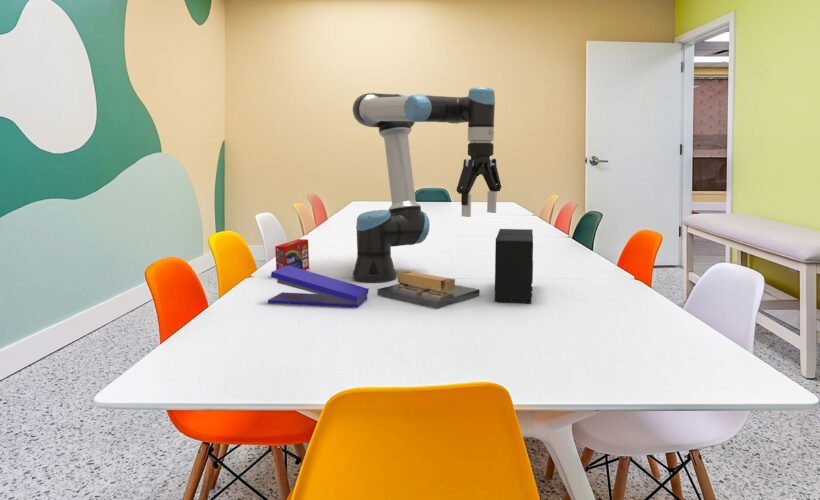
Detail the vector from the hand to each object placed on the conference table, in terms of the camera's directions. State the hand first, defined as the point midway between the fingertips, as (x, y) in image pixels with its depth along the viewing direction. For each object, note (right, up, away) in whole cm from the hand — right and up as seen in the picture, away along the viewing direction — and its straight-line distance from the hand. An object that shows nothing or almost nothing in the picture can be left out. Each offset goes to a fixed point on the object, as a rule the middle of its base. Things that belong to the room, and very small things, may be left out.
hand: (479, 214), depth 175 cm
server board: (-15, -25, +4) cm, 29 cm away
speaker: (+12, -24, +6) cm, 28 cm away
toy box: (-63, -20, +38) cm, 76 cm away
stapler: (-48, -26, -2) cm, 54 cm away
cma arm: (-16, -22, +3) cm, 27 cm away
